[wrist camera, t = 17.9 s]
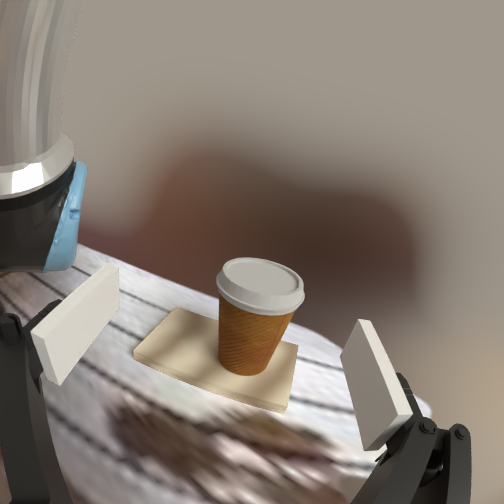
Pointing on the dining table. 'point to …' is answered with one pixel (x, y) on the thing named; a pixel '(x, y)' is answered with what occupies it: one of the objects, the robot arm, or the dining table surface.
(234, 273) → the disposable coffee cup
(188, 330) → the serving board
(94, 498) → the dining table surface
